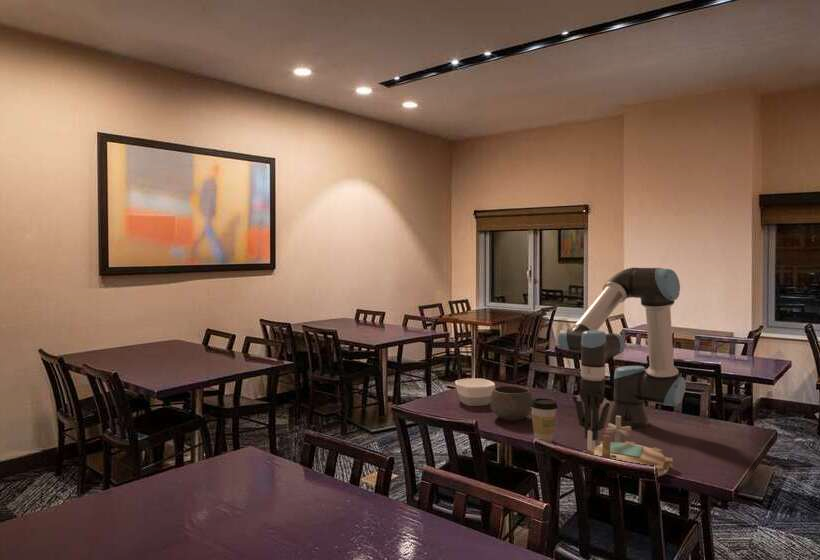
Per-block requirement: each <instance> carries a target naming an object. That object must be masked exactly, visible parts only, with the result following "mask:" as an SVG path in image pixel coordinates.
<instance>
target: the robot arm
mask: <svg viewBox="0 0 820 560" xmlns="http://www.w3.org/2000/svg"><path fill="white" fill-rule="evenodd" d="M602 286H603V287H602V289H601V290H602V291H601V292H600V293H599V294H598V296H597V297H596V298H595V300H594V301H593V302H592V303H591V304H590V306H588V308H587V310H585V312H584V313H583V314H582V315H581V316H580V318H579V319H578V320H577V321H576V322H575V324H574V325H573V326H572V327H571V329H569V328H567V329H564V328H563V329H561V330H560V331H559V333H558V335H557V343H558V346H559V349H561V350H565V351H569V352H573V353H574V352H575V353H580V354H581V355H580V356H581V357H580V360H581V361H580V376H581V378H580V391H579V393H578V395H574V396H572V401H573V403H574V404H575V409H576V413H577V419H578V425H579V426H580V427H583V428H584V438H585V439H587V441H586V442H587V443H586V447H587V448H586V450H591V451H592V450H594V449H595V447H596V441H597V440H598V439H599V431H602V430H603V429H605V425H606V422H607V417H608V421H609V423H611V424H613V425H615V426H616V416H621V427H626V426H630V427H631V429H641V428H646V427H648V426H649V417H648V414H647V411H646V407H645V402H648V403H654V404H658V405H663V406H669V407H676V406H678V405H679V404H680V403H681V402H682V400H683V398H684V395H685V392H686V388H687V387H686V386H687V385H686V384H687V382H686V380H685V377H682V376H680V374H679V373H680V371H679V369H678V368H677V367H675V364H674V363H675V362H674V348H673V334H672V333H673V332H672V331H673V330H672V329H673V328H672V316H671V315H672V314H671V307H672V306H673V305H675V301H676V300H677V299H678V298H679V297H680V294H681V293H680V291H681V283H680V280H679V276H678V274H677V273H676V272H675V271H674V270H673V269H670V268H662V267H629V268H625V269H623V270H621V271H619V272H617V273H616V274H614V275H613V276H611V277H610V278H609V279H608V280H607V281H606V282H605V283H604V285H602ZM629 298H635V299H640V304H641V306H642V307H644V308H645V316H646V317H645V318H646V320H645V321H646V334H647V344H648V345H647V346H648V347H647V348H648V361H649V366H648V368H646V367H645V366H642V365H625V366H624V365H623V366H619V367H616V368H615V369H614V375H613V376H614V377H613V402H612V401H609V400H608V399H607V398H606V395H605V387H606V386H605V385H606V380H605V378H606V377H605V376H606V359H607V358H612V357H616V356H619V355H620V354H622V353H623V352H624V351H625V348H626V342H625V339H624V337H623V336H622V335H621V334H618V333H612V332H611V333H605V332H604V331H602V330H600V328H601V327H602V326H603V324H604V323H605V321H606V320H607V319H608V318H609V317H610V316H611V314H612V313H613V311H615V309H616V308H617V307H618V306H619V304H622V303H624V302H625V301H626V300H627V299H629ZM583 403H584V407H583ZM601 405H602V406H603V407H602V409H601V414H600V408H601ZM610 409H611V410H610ZM609 411H610V413H609Z"/></svg>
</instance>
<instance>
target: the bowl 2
mask: <svg viewBox="0 0 820 560" xmlns="http://www.w3.org/2000/svg"><path fill="white" fill-rule="evenodd" d="M533 399H534V397H533V393H532V392H531V390H530V389H529V388H525V387H523V386H517V385H500V386H495V388H494V390H493V391H492V394H491V398H490V403H489V405H490V409H491V411H492V412H493V413H494V415H495V416H497V417H498V418H500V419H502V420H504V421H509V422H511V421H512V422H515V421H520V420H523V419H525V418H527V417H528V416H529V415H530V414H532V407H531V406H530V405H531V402H532V400H533Z"/></svg>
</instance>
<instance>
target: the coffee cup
mask: <svg viewBox="0 0 820 560" xmlns="http://www.w3.org/2000/svg"><path fill="white" fill-rule="evenodd" d="M530 406H531V407H532V411H531V419H532V427H533V428H532V429H533V437H534V440H535V439H536V438H538V439H543V440H547V441H551V442H553V436H554V432H555V426H556V425H555V424H556V418H557V409H558V408H559V407H558V404H557V401H556V400H555V399H552V398H548V397H535V398H533V400H532V402H531V405H530Z"/></svg>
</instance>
